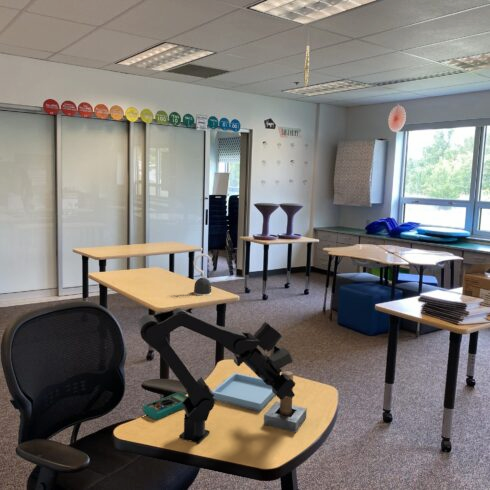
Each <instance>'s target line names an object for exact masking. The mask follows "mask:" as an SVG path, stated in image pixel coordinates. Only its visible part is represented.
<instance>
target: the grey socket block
mask: <svg viewBox="0 0 490 490" xmlns="http://www.w3.org/2000/svg"><path fill="white" fill-rule="evenodd" d="M306 418H307V408H306V407H303V406H298V405H294V404H292V416H291V417H288V416H284V415H280V401H276V400H275V402H274V403H273V404H272V405H271V406H270V408H269V409H268V410H267V411H266V412H265V413H264V415H263V425H264V426H269V427H273V428H276V429H281V430H285V431H289V432H293V433H296V432H297V431H298V430H299V428H300V427H301V425H302V424H303V423H304V422H305V420H306Z"/></svg>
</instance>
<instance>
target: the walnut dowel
mask: <svg viewBox="0 0 490 490" xmlns="http://www.w3.org/2000/svg"><path fill="white" fill-rule="evenodd" d="M281 374H283V375H287V376H289V377H290V378H291V379H292V380H293V381H294V373H293V372H291V371H281V372H280V375H281ZM292 391H293V392H294V387H293V388H292ZM279 402H280V415H284V416H288V417H291V416H292V405H293V398H292V397H287V396H285V397H284V399H282V400H280V399H279Z"/></svg>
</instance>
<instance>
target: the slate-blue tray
mask: <svg viewBox="0 0 490 490" xmlns="http://www.w3.org/2000/svg"><path fill="white" fill-rule="evenodd" d="M211 391H212V392H213V394H214V395H215V396H214V397H213V398H214V401H218V402H222V403H225V404H229V405H234V406H237V407H241V408H246V409H249V410H254V411H258V412H262V410H264V409H265V407H267V405H268V404H269V403H270V402H271V401H272V399H274V398H275V397H276V395H275V394H274V393H273V392H272V386H270V385H267V384H266V383H265V382H264V381H263V380H262V379H261V378H259V377H258V376H251V375H247V374H243V373H238V372H234V373H232V374H231V375H229V377H227V378H226V379H225V380H223V382H220V384H218V385H217V386H216V387H215V388H214V389H213V390H211Z"/></svg>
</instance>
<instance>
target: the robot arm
mask: <svg viewBox="0 0 490 490" xmlns="http://www.w3.org/2000/svg"><path fill="white" fill-rule="evenodd" d="M180 327H183V328H185V329H188V330H190V331H192V332H195V333H196V334H199V335H201V336H204V337H207V338H208V339H211V340H213V341H216V342H217V343H218V344H220V345H221V346H222V347H223V348H225V349H227V350H228V351H229V352H230V353H233V363H234V364H235V365H236V366H237V367H240V366H241V365H242V364H243V363H244V364H245V365H246V366H247V367H248V368H249V369H250V370H251V371H252V372H253V373H254V374H255V375H256V377H258V378H261V379H262V380H263V381H264V382H265V383H266V384H267V385H270V386H272V392H273V393H274V394H275V397H277V398H278V399H279V401H280V400H282V399H284V397H285V396H287V397H292V399H293V398H294V397H295V396H296V394H295V392H294V390H293V391H292V388H293V389H294V387H296V381H295V380H294V379H293V380H292V379H291V378H290V377H289V376H287V375H283V374H281V373H282V372H283V370H282V369H283V368H284V367H286V366H287V365H289V364H292V363H293V361H294V359H293V358H292V355H291V352H290V351H289V350H288V349H287V348H285V347H282V346H281V347H279V346H277V344H278V343H279V342H280V340H281V339H282V338H283V335H282V334H281V333H280V332H279V331H277V330H276V329H275V328H274V327H272V326H271V325H270V323H268V322H267V321H264V322H263V323H262V325H261V326H260V327H259V329H257V331H256V332H255V333H254V334H252V333H251V332H246V331H240V330H239V329H236V328H232V327H229V326H221V325H218V324H216V323H212V322H210V321H208V320H206V319H205V318H201V317H200V316H198V315H195V314H193V313H191V312H189V311H186V310H184V308H182V307H178V308H177V307H176V308H173V309H171V310H169V311H168V310H167V311H163V312H158V313H155V314H145V315H143V316H142V317H141V318H139V320H138V322H137V325H136V328H137V330H138V332H139V334H140V337H141V339H142V340H143V341H144V342H145V343H146V344H148V345H149V347H150V348H152V349H154V350H155V351H156V352H157V353H158V354H159V355H160V357H161V358H162V359H163V361H164V362H165V363H166V364H167V366H168V367H169V369H170V370H171V371H172V373H173V374H174V375H175V377H176V378H177V380H178V381H179V382H180V384H182V386H183V388H184V390H185V392H186V393H187V396H188V397H187V398H186V399H185V400H184V401H183V402H182V403H181V404H182V407H183V409H182V410H183V411H184V412H185V413H184V418H183V431H182V432H181V433H180V434H179V436H178V437H179V439H182V440H186V441H190V442H193V443H195V444H196V443H197V444H199V443H201V442H202V441H203V440H204V439H205V438H206V437H207V436H208V435H209V434H210V433H211V432H210V430H207V429H206V421H207V420H208V418H209V415H210V412H211V411H212V410H213V409H214V406H215V404H216V402H215V401H216V400H214V398H213V397H214V396H215V395H214V394H213V392H212V390H211V388H210V386H209V385H207V383H206V382H205V380H204V378H203V377H202V376H201V377H199V379H197V378H196V377H195V376H194V375H193V374H192V373H191V371H190V370H189V368H188V367H187V366H186V364H185V363H184V361H183V360H182V358H181V357H180V356H179V354H178V353H177V352H176V350H174V349H175V348H173V346H172V345H171V344H170V342H169V340H168V338H167V335H169V334H171V333H172V332H173V331H175V330H176V329H178V328H180ZM258 347H259V348H260V349H261V350H260V349H259V348H258ZM262 350H263V351H264V352H268V353H269V352H270V355H269V356H268V355H267V354H265V353H264V352H262Z"/></svg>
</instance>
